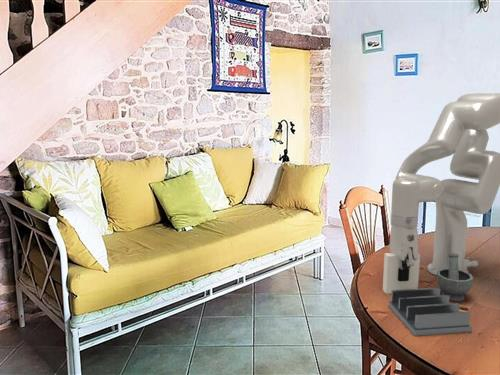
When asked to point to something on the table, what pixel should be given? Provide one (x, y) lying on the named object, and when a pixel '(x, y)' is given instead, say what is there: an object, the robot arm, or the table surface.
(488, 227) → the table surface
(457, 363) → the table surface
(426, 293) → the rack
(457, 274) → the mortar and pestle
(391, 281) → the white flat block
